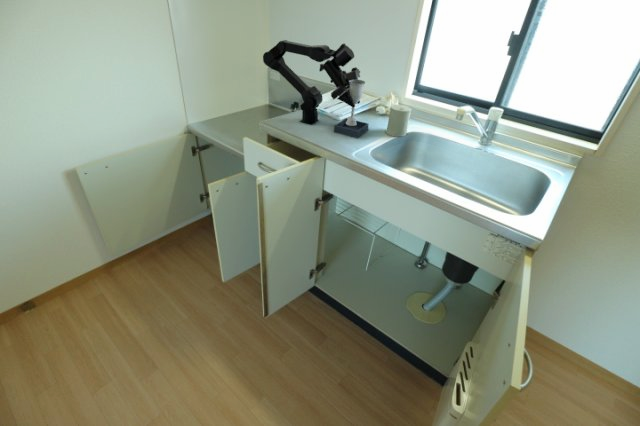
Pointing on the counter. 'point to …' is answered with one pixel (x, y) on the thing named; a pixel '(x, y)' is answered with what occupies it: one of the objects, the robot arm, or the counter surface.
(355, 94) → the chalice
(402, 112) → the can
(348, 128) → the bin
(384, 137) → the counter surface
